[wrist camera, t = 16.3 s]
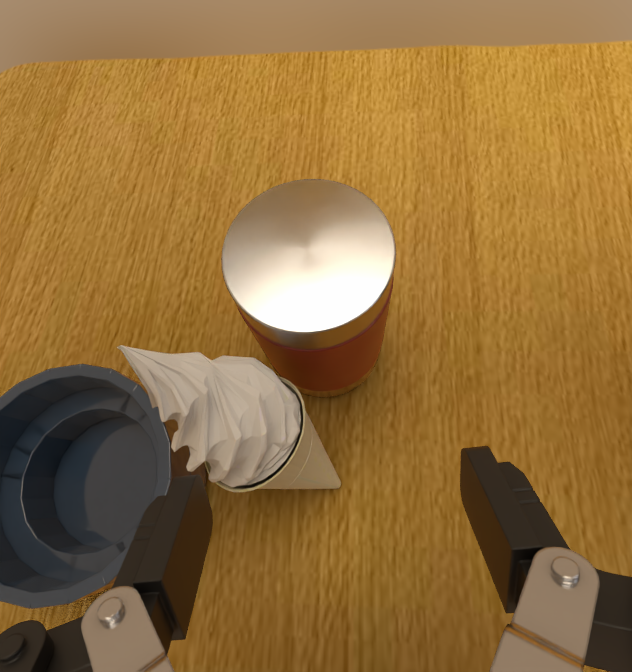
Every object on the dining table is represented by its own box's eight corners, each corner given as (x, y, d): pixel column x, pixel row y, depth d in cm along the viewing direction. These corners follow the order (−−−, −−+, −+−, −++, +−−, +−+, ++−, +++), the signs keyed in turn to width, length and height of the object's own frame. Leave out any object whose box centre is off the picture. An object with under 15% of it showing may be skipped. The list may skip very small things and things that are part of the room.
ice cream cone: (307, 437, 27) (104, 288, 16) (387, 441, 24) (209, 267, 13) (286, 526, 24) (32, 421, 14) (372, 541, 22) (142, 427, 11)
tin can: (349, 276, 29) (347, 152, 18) (401, 367, 26) (432, 285, 16) (253, 321, 28) (194, 219, 18) (297, 418, 26) (260, 366, 15)
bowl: (173, 361, 28) (131, 330, 22) (235, 527, 24) (203, 536, 19) (11, 436, 27) (-70, 422, 22) (52, 620, 23) (-34, 655, 18)
